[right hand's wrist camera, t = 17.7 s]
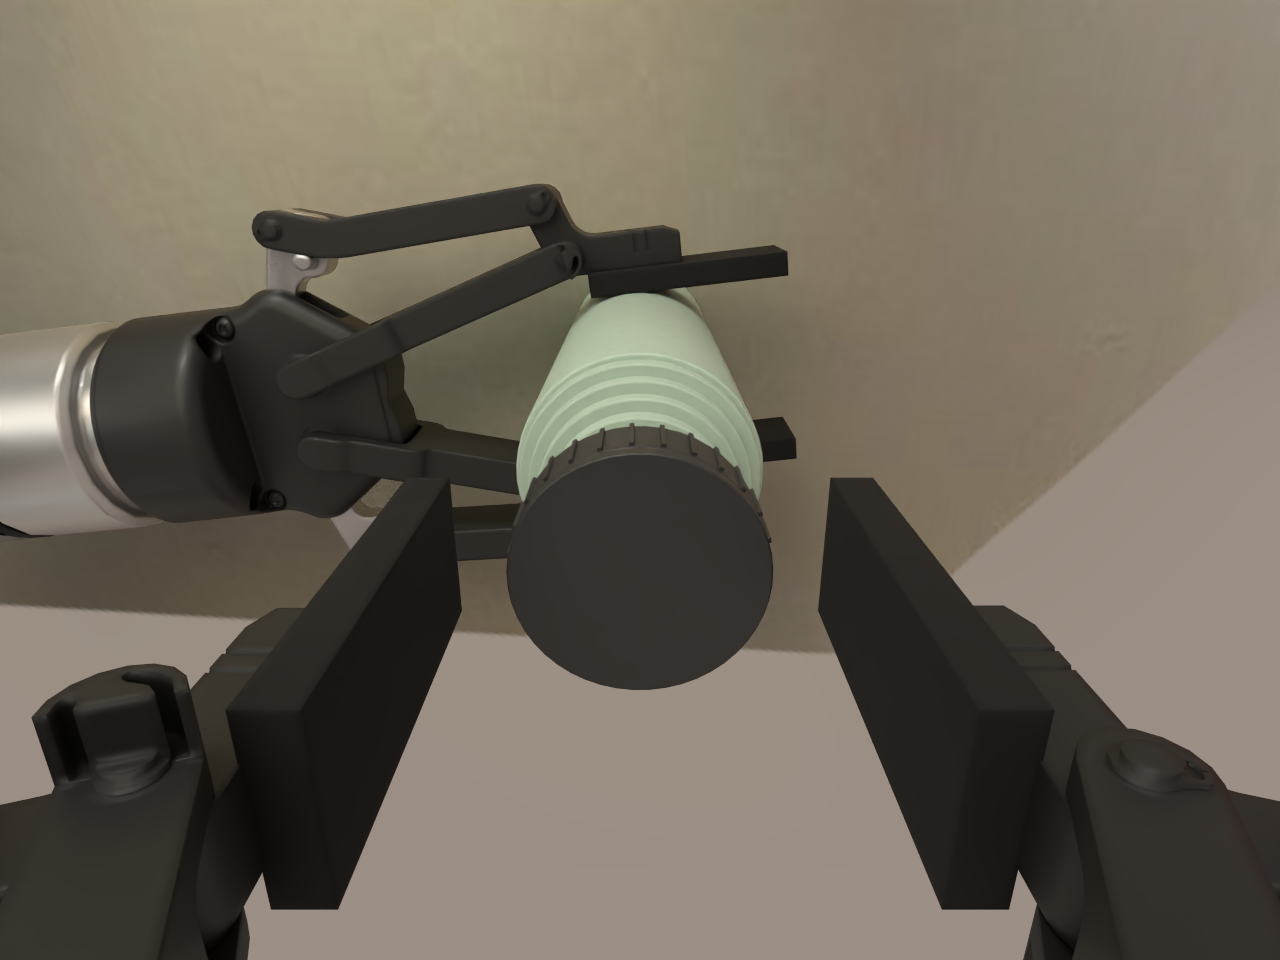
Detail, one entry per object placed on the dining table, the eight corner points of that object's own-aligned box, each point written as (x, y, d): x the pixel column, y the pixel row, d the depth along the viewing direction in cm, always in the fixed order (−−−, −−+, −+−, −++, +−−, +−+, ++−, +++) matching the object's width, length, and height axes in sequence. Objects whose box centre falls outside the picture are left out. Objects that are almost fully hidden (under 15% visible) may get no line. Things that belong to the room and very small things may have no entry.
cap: (698, 377, 13) (706, 400, 12) (801, 587, 15) (818, 631, 14) (470, 488, 14) (451, 523, 13) (589, 678, 16) (584, 730, 14)
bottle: (677, 416, 35) (728, 733, 15) (557, 374, 34) (442, 648, 14) (724, 295, 33) (855, 473, 13) (598, 249, 32) (531, 361, 12)
